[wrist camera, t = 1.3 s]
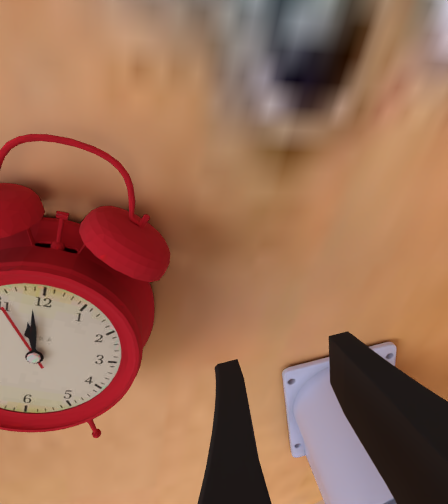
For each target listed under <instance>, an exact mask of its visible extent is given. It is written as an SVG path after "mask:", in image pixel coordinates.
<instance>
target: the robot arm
mask: <svg viewBox="0 0 448 504" xmlns="http://www.w3.org/2000/svg"><path fill="white" fill-rule="evenodd" d="M396 349H397V348H396V346H395V345H394V343H393V342H385V343H381V344H377V345H373V346H369V347H368V346H367V345H365V344H364V343H363V342H361V341H360V340H359V339H357V338H356V337H355V336H353V335H352V334H351V333H349V332H344V333H340V334H336V335H332V336H329V357H326V358H322V359H319V360H315V361H311V362H307V363H303V364H299V365H295V366H291V367H288V368H286V369H284V371H283V372H282V377H283V386H284V395H285V404H286V413H287V422H288V430H289V439H290V448H291V453H292V456H293V457H301V456H305V455H306V457H307V459H308V462H309V464H310V467H311V469H312V472H313V475H314V477H315V480H316V482H317V485H318V487H319V490H320V492H321V495H322V497H323V500H324V502H325V504H448V402H447V401H446V400H444V399H443V398H441V397H439V396H438V395H436V394H435V393H433V392H432V391H430V390H428V389H427V388H425V387H424V386H422V385H421V384H419V383H418V382H416V381H415V380H414V379H412V378H411V377H409V376H408V375H406V374H405V373H403V372H402V371H401V370H399V369H398V368H396V367H395V360H396ZM215 374H216V400H215V412H214V421H213V430H212V436H211V442H210V448H209V454H208V459H207V465H206V470H205V474H204V479H203V483H202V488H201V492H200V496H199V500H198V504H271V501H270V497H269V494H268V490H267V487H266V483H265V480H264V476H263V473H262V469H261V466H260V462H259V458H258V453H257V447H256V441H255V436H254V431H253V425H252V420H251V414H250V409H249V404H248V398H247V393H246V388H245V382H244V378H243V374H242V371H241V368H240V365H239V362H238V359H236V360H232V361H228V362H224V363H220V364H217V366H216V367H215ZM290 379H291V380H290Z"/></svg>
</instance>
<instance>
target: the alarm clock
mask: <svg viewBox="0 0 448 504" xmlns="http://www.w3.org/2000/svg"><path fill="white" fill-rule="evenodd" d="M32 141H46V142H56V143H60V144H65V145H70V146H74V147H78V148H81V149H83V150H86V151H89V152H91V153H94V154H96V155H98V156H100V157H102V158H103V159H105V160H107V161H108V162H110V163H111V164H112V165H113V166H114V167H115V168H116V169H118V170H119V172H120V173H121V175H122V176H123V178H124V180H125V183H126V186H127V190H128V197H129V211H127V210H124V209H122V208H118V207H114V206H101V207H98V208H96V209H94V210H92V211H91V212H90V213H89V214H88V215H87V216H86V217H85V218H84V220H83V221H82V222H81V224H79V223H76V222H72V221H68V217H69V213H65V212H60V211H57V212H56V218H58V219H56V218H48V217H43V215H44V213H45V211H44V208H43V205H42V202H41V200H40V198H39V196H38V195H37V194H36V193H35V192H34V191H33V190H31V189H30V188H27V187H25V186H22V185H18V184H11V183H0V429H2V430H8V431H17V432H46V431H55V430H60V429H65V428H69V427H73V426H76V425H79V424H82V423H85V422H88V423H89V425H90V427H91V429H92V430H93V433H92V435H93V437H94V438H98V437H99V436H100V435H101V431H100V430H99V429H96V426H95V424H94V422H93V419H94V418H96V417H98V416H100V415H101V414H103V413H104V412H106V411H108V410H109V409H110V408H112V407H113V406H114V405H115V404H116V403H117V402H118V401H119V400H120V399H122V397H123V396H124V395H125V394H126V392H127V391H128V390H129V388H130V386H131V385H132V383H133V381H134V379H135V377H136V375H137V373H138V370H139V367H140V364H141V360H142V351H143V350H142V349H143V347H144V346H145V344H146V342H147V340H148V338H149V336H150V333H151V331H152V327H153V322H154V297H153V292H152V289H151V285H150V283H149V282H153V281H158V280H160V278H161V277H162V276H163V275H164V273H165V271H166V269H167V267H168V265H169V263H170V250H169V248H168V245H167V243H166V242H165V240H164V238H163V237H162V235H161V234H160V233H159V232H158V231H157V230H156V229H155V228H154V227H153V226H151V225H150V224H149V223H148V221H149V219H150V216H149V215H147V214H144V216H143V217H142V218H140V217H139V216H137V215H136V214H134V209H135V196H134V188H133V184H132V181H131V178H130V176H129V174H128V172H127V171H126V170H125V168H124V167H123V166H122V165H121V163H120V162H119V161H117V160H116V159H115V158H113V157H112V156H110V155H109V154H108V153H106V152H104V151H102V150H100V149H98V148H96V147H94V146H91V145H88V144H85V143H82V142H80V141H77V140H74V139H71V138H65V137H59V136H53V135H48V134H29V135H24V136H19V137H16V138H14V139H12V140H10V141H8V142H7V143H6V144H5V145H4V146H3V147H2V148H1V150H0V169H1V165H2V163H3V160H4V158H5V156H6V155H7V154H8V152H9V151H10V150H11V149H12V148H14V147H15V146H17V145H19V144H22V143H25V142H32Z"/></svg>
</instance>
